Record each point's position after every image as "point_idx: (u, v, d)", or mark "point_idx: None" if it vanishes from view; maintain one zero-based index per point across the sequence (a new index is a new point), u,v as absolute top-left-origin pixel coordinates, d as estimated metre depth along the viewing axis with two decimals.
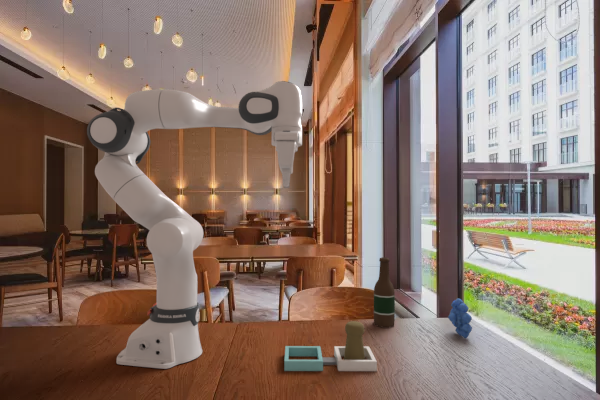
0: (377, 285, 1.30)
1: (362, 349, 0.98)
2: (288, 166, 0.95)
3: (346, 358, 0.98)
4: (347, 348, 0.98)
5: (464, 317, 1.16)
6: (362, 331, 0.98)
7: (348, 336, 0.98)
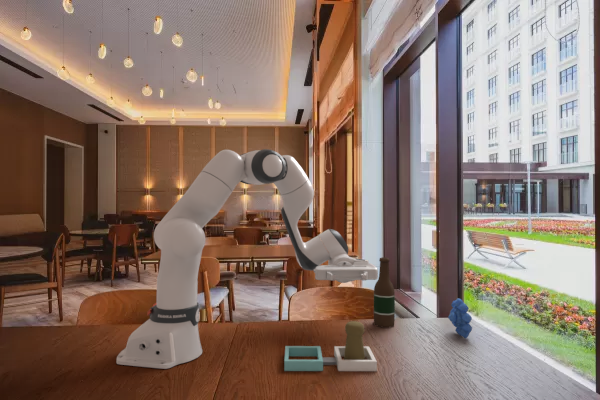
0: (377, 285, 1.30)
1: (362, 349, 0.98)
2: (376, 276, 1.16)
3: (346, 358, 0.98)
4: (347, 348, 0.98)
5: (464, 317, 1.16)
6: (362, 331, 0.98)
7: (348, 336, 0.98)
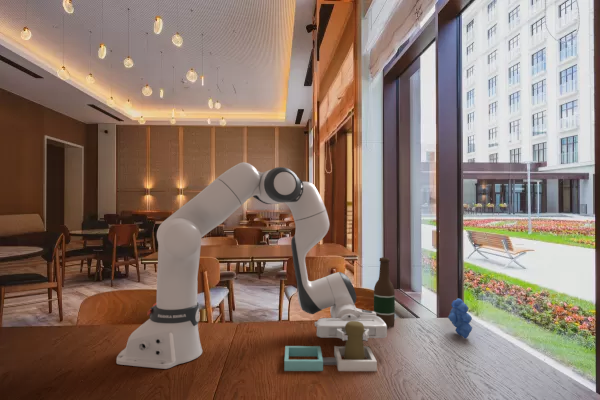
0: (377, 285, 1.30)
1: (362, 349, 0.98)
2: (386, 334, 1.04)
3: (346, 358, 0.98)
4: (347, 348, 0.98)
5: (464, 317, 1.16)
6: (362, 331, 0.98)
7: (348, 336, 0.98)
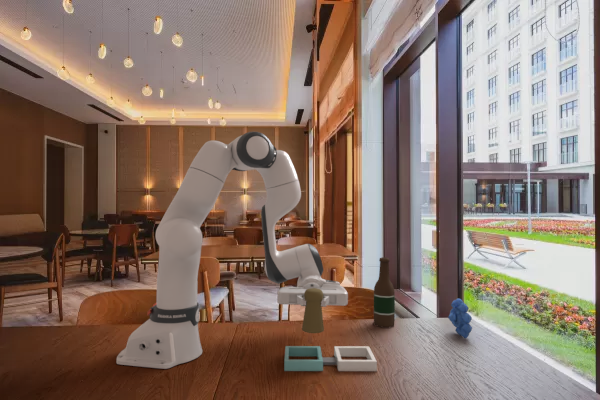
0: (377, 285, 1.30)
1: (320, 315, 0.97)
2: (346, 301, 1.03)
3: (304, 324, 0.97)
4: (305, 314, 0.98)
5: (464, 317, 1.16)
6: (320, 297, 0.97)
7: (307, 302, 0.98)
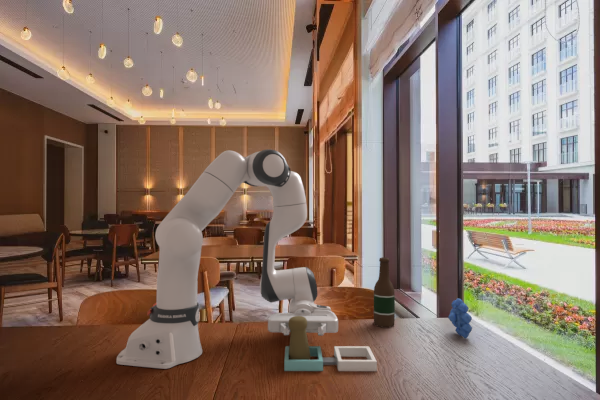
0: (377, 285, 1.30)
1: (306, 343, 0.98)
2: (337, 329, 1.03)
3: (290, 353, 0.98)
4: (291, 343, 0.98)
5: (464, 317, 1.16)
6: (304, 325, 0.97)
7: (291, 331, 0.98)
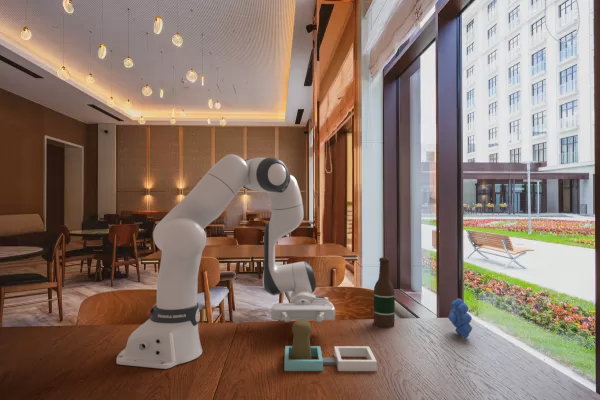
0: (377, 285, 1.30)
1: (309, 348, 0.98)
2: (333, 316, 1.13)
3: (292, 357, 0.98)
4: (294, 348, 0.98)
5: (464, 317, 1.16)
6: (309, 330, 0.98)
7: (295, 336, 0.98)
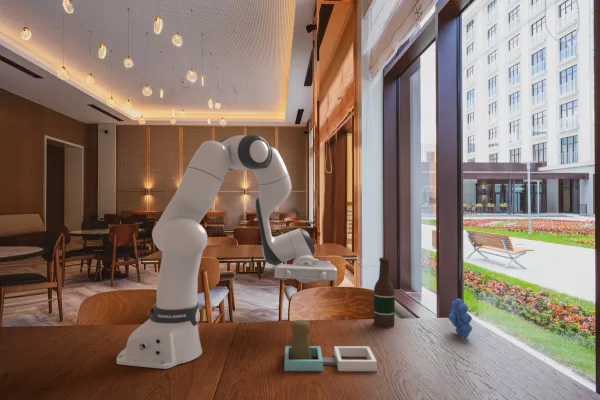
0: (377, 285, 1.30)
1: (308, 347, 0.98)
2: (335, 277, 1.16)
3: (293, 357, 0.98)
4: (293, 347, 0.98)
5: (464, 317, 1.16)
6: (308, 329, 0.98)
7: (294, 335, 0.98)
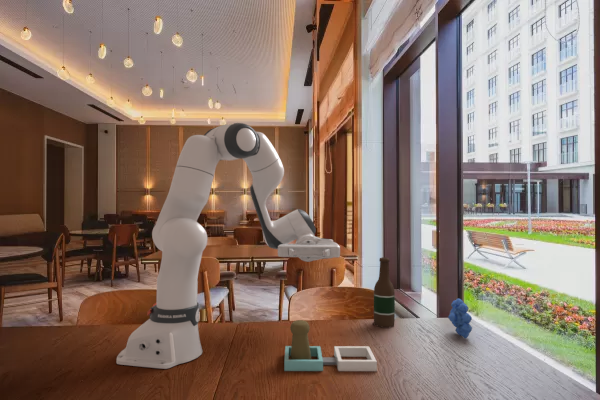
0: (377, 285, 1.30)
1: (308, 347, 0.98)
2: (339, 254, 1.17)
3: (293, 358, 0.97)
4: (293, 348, 0.98)
5: (464, 317, 1.16)
6: (308, 329, 0.98)
7: (294, 336, 0.98)
